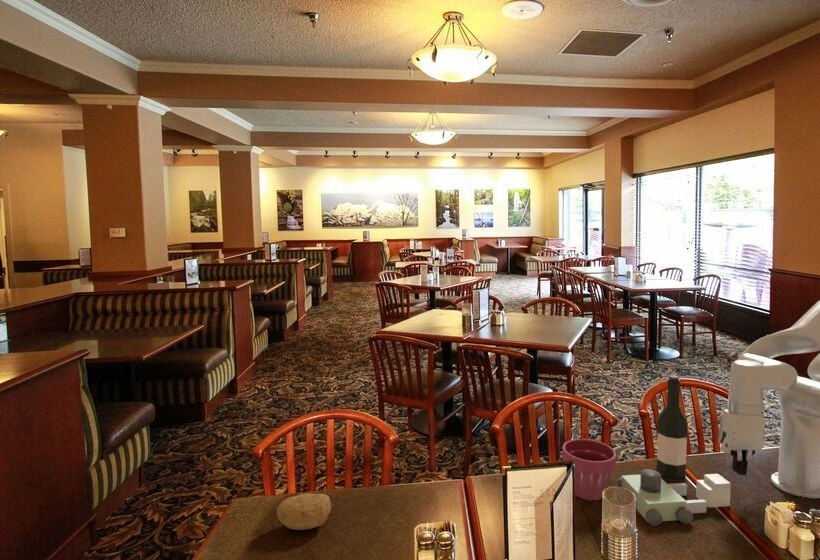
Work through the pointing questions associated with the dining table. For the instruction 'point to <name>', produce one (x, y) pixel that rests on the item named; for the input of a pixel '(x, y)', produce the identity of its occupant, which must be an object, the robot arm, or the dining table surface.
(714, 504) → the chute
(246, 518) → the dining table surface
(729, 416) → the robot arm
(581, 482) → the plant pot
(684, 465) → the wine bottle
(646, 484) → the toy car
